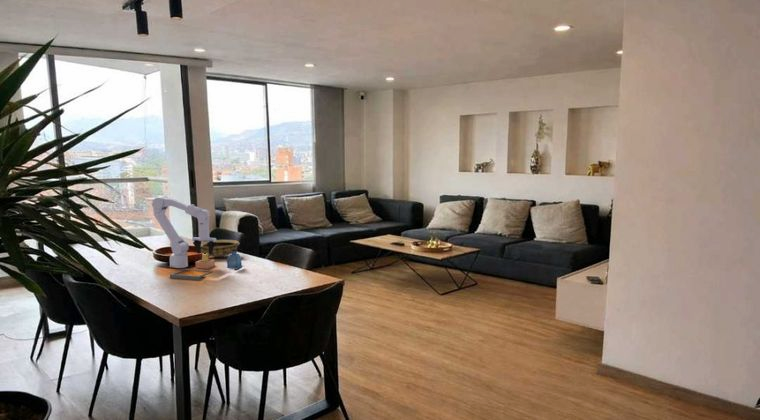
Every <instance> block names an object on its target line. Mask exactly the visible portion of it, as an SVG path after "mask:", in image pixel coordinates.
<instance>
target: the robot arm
mask: <svg viewBox="0 0 760 420" xmlns="http://www.w3.org/2000/svg"><path fill="white" fill-rule="evenodd" d="M151 206H152V209H153V216H154V218H155V219H156V221H157V222H158V225H160V227H161V228H162V230H163V232H164V234H165V235H166V236H167V238H168V240H169V241H170V243H169V246H170V248H171V252H172V254H171V255H170V256H169V268H175V269H186V268H187V267H189V260H188V251H189V247H190V246H189V243H188V242H186V241H185V240H184V238H182V237H181V236H179V234H178V232H177V231H176V229H175V227H174V226H173V225H172V223H171V221H170V220H169V218H168V217H167V214H166V212H167V209H168V207H174V208H177V209H180V210H182V211H184V212H185V213H186V214H187V215H189V216H192V217H194V218H196V219H197V221H198V237H197V236H194V237H191V238H192V244H193V245H194V247H195V249H196V252H197V255H198V254H202V253H201V252H202V251H201V248H202V247H201V243H202V242H206V241H208V243H207V244H208V248H209V254H212V252H213V248H214V245H215V243H216V240H217V238H216V237H210V221H209V220H210V219H209V218H210V217H211V212H210V211H209V210H208V209H207V208H204V209H203V208H202V207H198V206H196V205H195V204H193V203H192V204H191V203H190V204H186V203H183V202H181V201H179V200H176V199H174V198H173V197H171V196H167V195H162V196H159V197H154V198H153V200H152V202H151Z"/></svg>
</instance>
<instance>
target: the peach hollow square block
mask: <svg viewBox="0 0 760 420" xmlns="http://www.w3.org/2000/svg"><path fill="white" fill-rule="evenodd" d="M215 261H216V259H210V258H208V262H202V259H199V260H197V261H195V268H196V269H204V270H207V269H210V268H212V267H215V266H216V262H215Z"/></svg>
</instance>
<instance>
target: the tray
mask: <svg viewBox="0 0 760 420" xmlns="http://www.w3.org/2000/svg"><path fill="white" fill-rule="evenodd" d="M185 271H189V272H190V271H191V272H201V273H202V274H200V275H191V274H190V275H188V274H179V273H182V272H185ZM213 272H214V271H213V270H207V269H204V270H203V269H194V268H193V269H192V268H191V269H190V268H182V269H181V270H179V271H175V272H173V273H170V274H169V278H170V279H175V280H176V279H177V280H189V281H190V280H191V281H201V280H203V279H206V278H207V276H206V275H208V274H211V273H213Z"/></svg>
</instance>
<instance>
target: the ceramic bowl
mask: <svg viewBox="0 0 760 420" xmlns="http://www.w3.org/2000/svg"><path fill="white" fill-rule="evenodd" d="M207 243H208V241H202V242H201V252H202V254H204V253H206V254H208V255H209V256H208V257H213V260H223V259H226V258H227V256H229V255H231V249H232V248H236V249H237V250H238V246H240V242H239V241H238V240H234V239H216V243H215V245H214V248H213V252H212V254H209V248H208V244H207Z"/></svg>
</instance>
